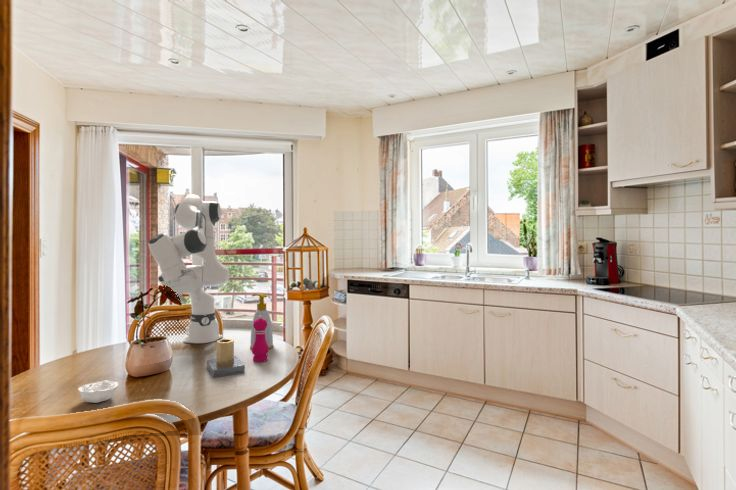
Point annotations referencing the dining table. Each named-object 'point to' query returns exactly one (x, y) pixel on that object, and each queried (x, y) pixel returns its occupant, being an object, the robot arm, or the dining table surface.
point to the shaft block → (225, 368)
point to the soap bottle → (265, 315)
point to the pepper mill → (260, 340)
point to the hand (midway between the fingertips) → (191, 301)
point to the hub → (225, 351)
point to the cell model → (98, 391)
